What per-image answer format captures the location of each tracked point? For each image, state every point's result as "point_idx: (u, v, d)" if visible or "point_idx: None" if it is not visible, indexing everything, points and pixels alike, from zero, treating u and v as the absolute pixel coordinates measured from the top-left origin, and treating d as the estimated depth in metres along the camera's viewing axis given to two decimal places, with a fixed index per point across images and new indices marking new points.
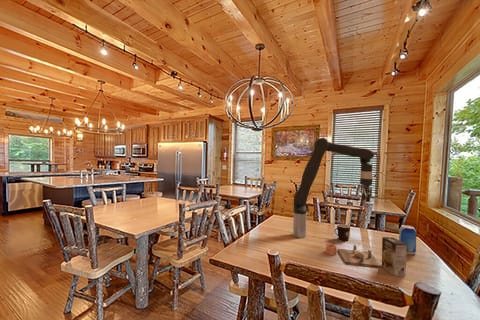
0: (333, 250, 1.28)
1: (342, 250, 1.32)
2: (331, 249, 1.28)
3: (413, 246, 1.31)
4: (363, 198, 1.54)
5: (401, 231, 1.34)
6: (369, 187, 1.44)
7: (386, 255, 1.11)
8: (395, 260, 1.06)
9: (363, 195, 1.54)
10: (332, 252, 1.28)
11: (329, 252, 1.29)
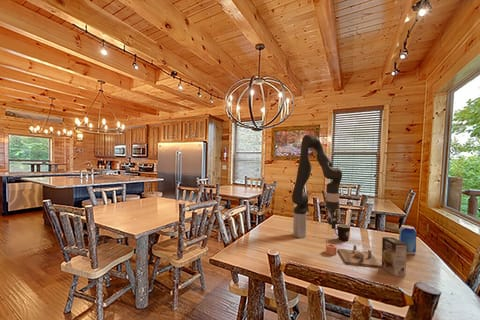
0: (333, 250, 1.28)
1: (342, 250, 1.32)
2: (331, 249, 1.28)
3: (413, 246, 1.31)
4: (330, 223, 1.35)
5: (401, 231, 1.34)
6: (334, 212, 1.24)
7: (386, 255, 1.11)
8: (395, 260, 1.06)
9: (330, 219, 1.35)
10: (332, 252, 1.28)
11: (329, 252, 1.29)
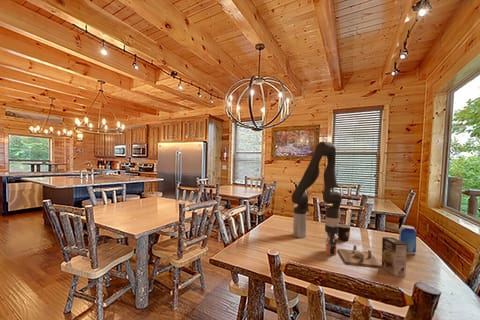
0: None
1: (342, 250, 1.32)
2: None
3: (413, 246, 1.31)
4: None
5: (401, 231, 1.34)
6: (333, 239, 1.24)
7: (386, 255, 1.11)
8: (395, 260, 1.06)
9: None
10: None
11: (329, 252, 1.29)
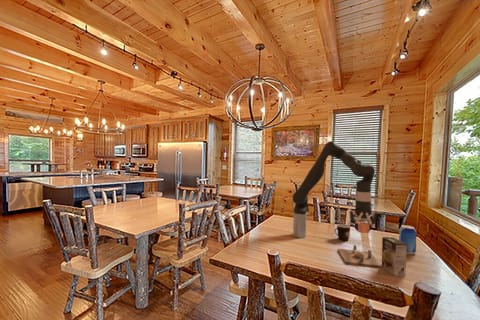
0: None
1: (342, 250, 1.32)
2: None
3: (413, 246, 1.31)
4: None
5: (401, 231, 1.34)
6: (349, 211, 1.20)
7: (386, 255, 1.11)
8: (395, 260, 1.06)
9: None
10: None
11: None
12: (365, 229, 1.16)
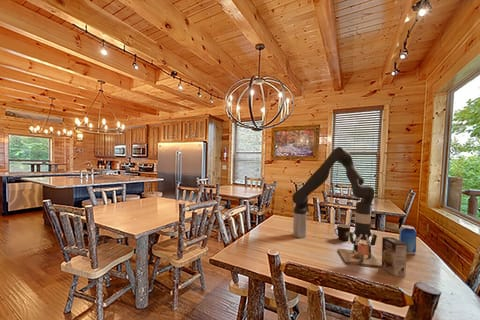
0: None
1: (342, 250, 1.32)
2: None
3: (413, 246, 1.31)
4: None
5: (401, 231, 1.34)
6: (349, 232, 1.20)
7: (386, 255, 1.11)
8: (395, 260, 1.06)
9: None
10: None
11: None
12: (364, 251, 1.15)
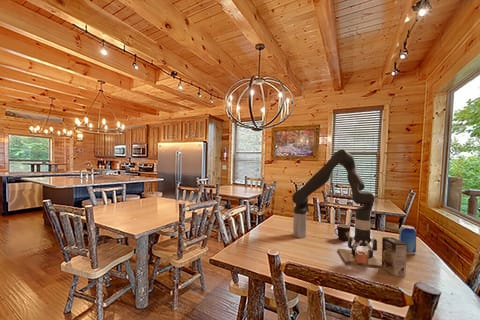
0: (357, 256, 1.18)
1: (342, 250, 1.32)
2: (356, 254, 1.19)
3: (413, 246, 1.31)
4: (369, 255, 1.18)
5: (401, 231, 1.34)
6: (349, 236, 1.20)
7: (386, 255, 1.11)
8: (395, 260, 1.06)
9: (369, 251, 1.18)
10: (356, 258, 1.19)
11: None
12: (364, 260, 1.15)
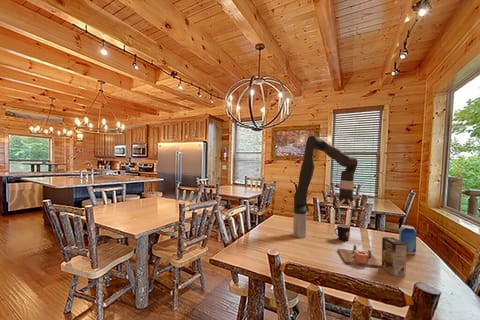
0: (357, 256, 1.18)
1: (342, 250, 1.32)
2: (356, 254, 1.19)
3: (413, 246, 1.31)
4: (351, 213, 1.30)
5: (401, 231, 1.34)
6: (334, 196, 1.32)
7: (386, 255, 1.11)
8: (395, 260, 1.06)
9: (352, 209, 1.30)
10: (356, 258, 1.19)
11: None
12: (364, 260, 1.15)
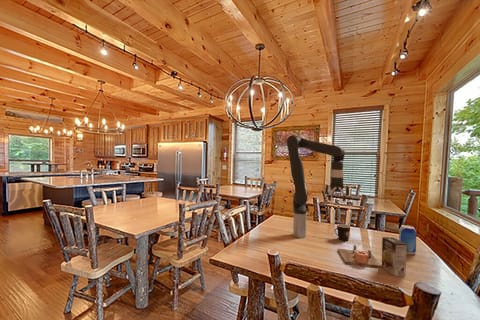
0: (357, 256, 1.18)
1: (342, 250, 1.32)
2: (356, 254, 1.19)
3: (413, 246, 1.31)
4: None
5: (401, 231, 1.34)
6: (326, 185, 1.42)
7: (386, 255, 1.11)
8: (395, 260, 1.06)
9: (343, 196, 1.40)
10: (356, 258, 1.19)
11: None
12: (364, 260, 1.15)
